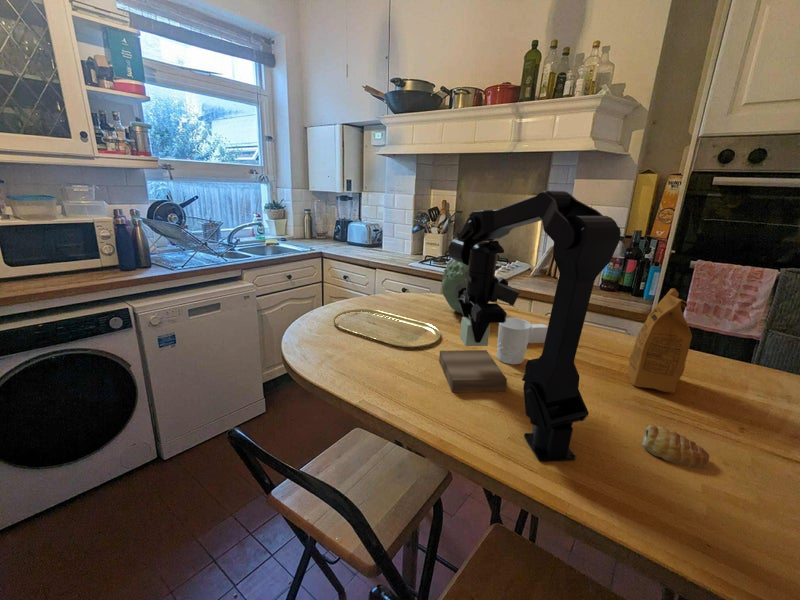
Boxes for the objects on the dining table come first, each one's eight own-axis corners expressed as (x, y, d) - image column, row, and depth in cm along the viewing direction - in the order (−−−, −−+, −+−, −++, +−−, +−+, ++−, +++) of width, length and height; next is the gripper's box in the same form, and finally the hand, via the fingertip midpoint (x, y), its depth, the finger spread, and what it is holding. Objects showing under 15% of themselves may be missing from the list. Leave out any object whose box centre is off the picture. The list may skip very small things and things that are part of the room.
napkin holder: (494, 343, 106) (497, 325, 104) (504, 330, 115) (507, 313, 114) (549, 357, 99) (553, 338, 97) (556, 342, 109) (559, 324, 107)
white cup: (527, 367, 92) (533, 330, 89) (495, 363, 94) (499, 327, 90) (524, 353, 99) (529, 319, 96) (493, 350, 101) (498, 316, 98)
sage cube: (487, 346, 83) (490, 325, 81) (465, 346, 82) (467, 325, 80) (480, 336, 87) (483, 317, 86) (460, 336, 87) (461, 317, 85)
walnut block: (505, 391, 82) (506, 379, 81) (451, 392, 80) (452, 380, 79) (485, 360, 95) (486, 350, 94) (439, 361, 94) (439, 350, 93)
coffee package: (672, 375, 91) (698, 290, 84) (678, 399, 81) (708, 305, 74) (626, 364, 96) (647, 282, 89) (625, 386, 86) (650, 295, 79)
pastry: (704, 454, 65) (711, 436, 64) (708, 478, 60) (715, 459, 58) (642, 433, 70) (647, 416, 69) (640, 453, 65) (645, 435, 63)
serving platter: (420, 358, 96) (420, 352, 95) (320, 326, 113) (320, 321, 113) (450, 334, 111) (451, 329, 111) (358, 309, 128) (358, 305, 128)
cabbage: (498, 312, 130) (505, 256, 123) (468, 326, 117) (474, 263, 110) (461, 301, 140) (466, 248, 133) (429, 312, 127) (433, 255, 120)
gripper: (536, 282, 71) (525, 355, 76) (502, 261, 89) (494, 321, 94) (480, 282, 70) (472, 356, 75) (456, 260, 88) (451, 322, 93)
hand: (474, 337), depth 84 cm, fingers closed on sage cube, 5 cm apart
